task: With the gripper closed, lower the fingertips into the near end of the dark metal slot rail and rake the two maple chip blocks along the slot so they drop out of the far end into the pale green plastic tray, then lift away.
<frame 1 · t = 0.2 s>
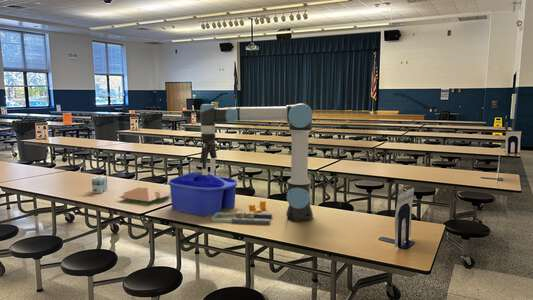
hand: (209, 172, 203), 28 cm above the table, fingers open, 13 cm apart
chip a: (249, 219, 205), point 1 cm above the table, touching slot rail
pipe clamp: (258, 214, 220), on the table
slot rail: (252, 222, 205), on the table
chip b: (240, 219, 205), point 1 cm above the table, touching slot rail
light bulb box: (100, 191, 271), on the table
caddy: (203, 208, 232), on the table
tray: (223, 220, 207), on the table
house: (145, 199, 252), on the table
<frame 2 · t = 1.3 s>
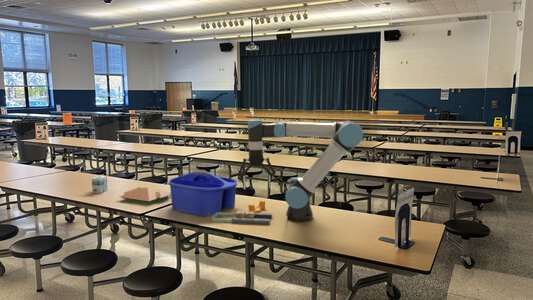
hand: (257, 188, 201), 19 cm above the table, fingers open, 13 cm apart
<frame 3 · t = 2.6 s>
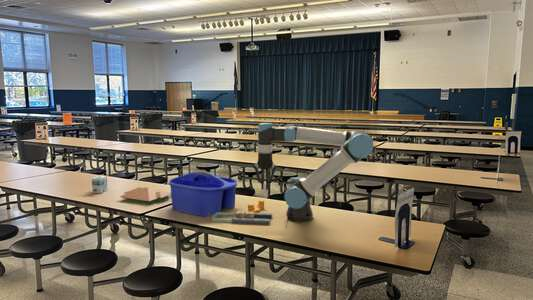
hand: (265, 195, 201), 15 cm above the table, fingers closed
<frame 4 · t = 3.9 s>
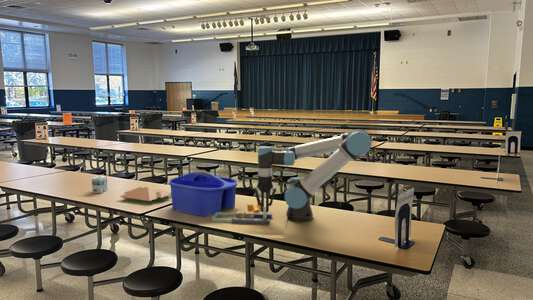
hand: (264, 217, 203), 3 cm above the table, fingers closed
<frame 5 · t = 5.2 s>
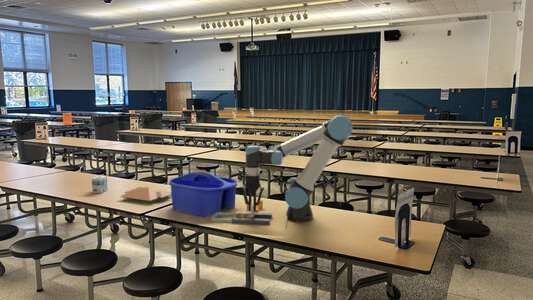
hand: (252, 216, 204), 3 cm above the table, fingers closed
chip a: (247, 219, 205), point 2 cm above the table, touching chip b, gripper
chip b: (240, 219, 205), point 1 cm above the table, touching chip a, slot rail
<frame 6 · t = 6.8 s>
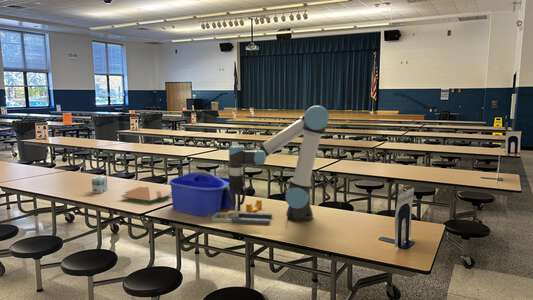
hand: (236, 216, 205), 3 cm above the table, fingers closed
chip a: (232, 218, 206), point 1 cm above the table, touching chip b, gripper, slot rail
chip b: (225, 220, 207), point 1 cm above the table, touching chip a, tray
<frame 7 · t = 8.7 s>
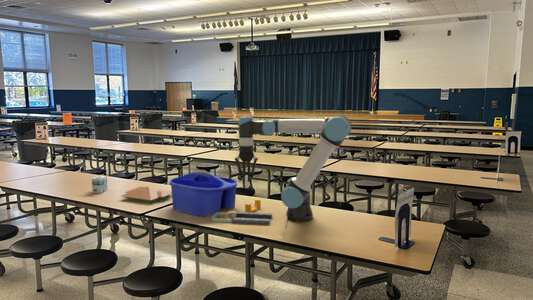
hand: (246, 187, 206), 19 cm above the table, fingers closed
chip a: (232, 218, 206), point 1 cm above the table, touching chip b, slot rail
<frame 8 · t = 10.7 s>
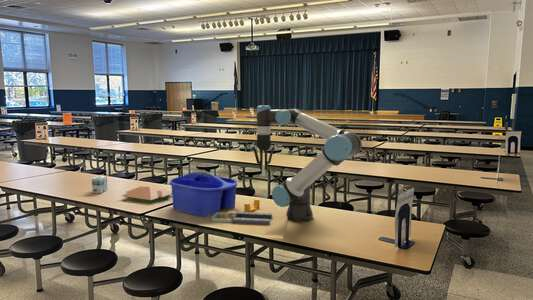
hand: (263, 175, 208), 24 cm above the table, fingers closed
at the end: chip a inside the target area on the tray (5.1 cm from its centre), point 1.5 cm above the tray's base; chip b inside the target area on the tray (1.2 cm from its centre), point 0.5 cm above the tray's base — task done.
